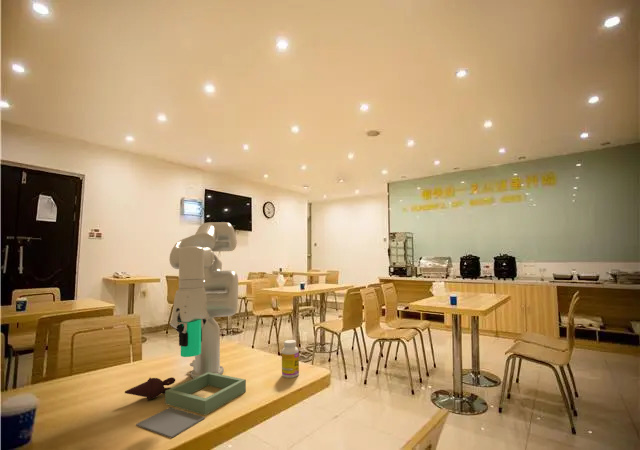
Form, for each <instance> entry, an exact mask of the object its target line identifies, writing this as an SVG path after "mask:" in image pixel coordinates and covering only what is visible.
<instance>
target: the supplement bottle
mask: <svg viewBox="0 0 640 450" xmlns="http://www.w3.org/2000/svg"><path fill="white" fill-rule="evenodd" d="M283 345H284V347H283V348H282V349H281V375H282V377H283V378H287V379H291V378H296V377H298V376H299V374H300V363H299V362H300V358H299V357H300V355H299V352H300V351H299V347H297V341H296V340H295V339H286V340H283Z"/></svg>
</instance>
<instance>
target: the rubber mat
mask: <svg viewBox="0 0 640 450" xmlns="http://www.w3.org/2000/svg"><path fill="white" fill-rule="evenodd" d="M205 418H206V417H205V416H202V415H199V414H196V413H195V414H194V413H192V412H190V411H189V412H188V411H186V410H181V409H180V408H175V407H173V406H172V407H171V406H170V407H168V408H166V409H164V410H161V411H160V412H158V413H155V414H153V415H151V416H149V417H147V418H145V419H144V420H142V421H140V422H137V423H136V424H135V425H136V427H138V428H139V427H140V428H142V429H145V430H147V431H151V432H153V433H155V434H159V435H161V436H164V437H167V438H169V437H171V438H170V439H173V438H175V437H177V436H178V435H180V434H182V433H183V432H185V431H186V430H188V429H190V428H191V427H193V426H195V425H197V424H199V423H200V422H202V421H204V420H205ZM181 432H182V433H181ZM179 433H180V434H179ZM177 434H178V435H177ZM174 436H175V437H174ZM172 437H173V438H172Z"/></svg>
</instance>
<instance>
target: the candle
mask: <svg viewBox="0 0 640 450" xmlns="http://www.w3.org/2000/svg"><path fill="white" fill-rule="evenodd" d="M183 325H184V324H182V327H183ZM186 333H188V346H180V357H183V358H191V357H195V356H197V355H199V354H201V319H200V320H197V321H193V322H188V323H187V331H186Z"/></svg>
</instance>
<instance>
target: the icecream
mask: <svg viewBox="0 0 640 450" xmlns="http://www.w3.org/2000/svg"><path fill="white" fill-rule="evenodd" d="M175 382H176V378H175V377H168V378H167V379H164V380H161V378H158V377H152V378H151V377H149V378H148V380H147V381H145V382H143V383H140V384H138V385H136V386H133V387H131V388H129V389H127V390H125V391H124V394H126V395H132V396H138V397H143V398H146V399H147V401H150V400H151V399H152V400H153V399H155V398H157V397H159V396H160V395H162V394H163V395H165V391H166V390H168V389H171V388H172V387H165V386H170V385H173V384H174V383H175Z"/></svg>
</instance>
